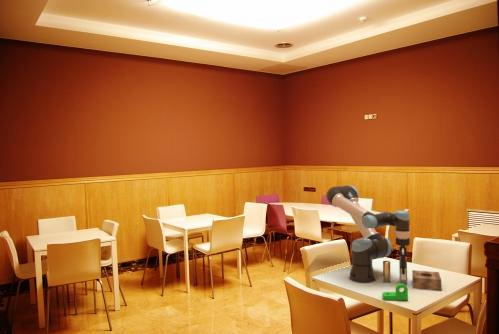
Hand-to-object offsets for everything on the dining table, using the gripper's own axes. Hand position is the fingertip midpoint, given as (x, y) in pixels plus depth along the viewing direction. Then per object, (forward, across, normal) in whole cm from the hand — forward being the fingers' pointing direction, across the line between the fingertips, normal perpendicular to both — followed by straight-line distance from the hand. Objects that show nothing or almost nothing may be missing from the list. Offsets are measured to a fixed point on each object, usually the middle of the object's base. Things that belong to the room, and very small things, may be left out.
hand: (403, 277), depth 220 cm
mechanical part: (+4, -24, +5) cm, 25 cm away
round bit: (+3, 0, +9) cm, 10 cm away
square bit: (+3, 0, 0) cm, 3 cm away
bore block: (+3, 0, -12) cm, 12 cm away
